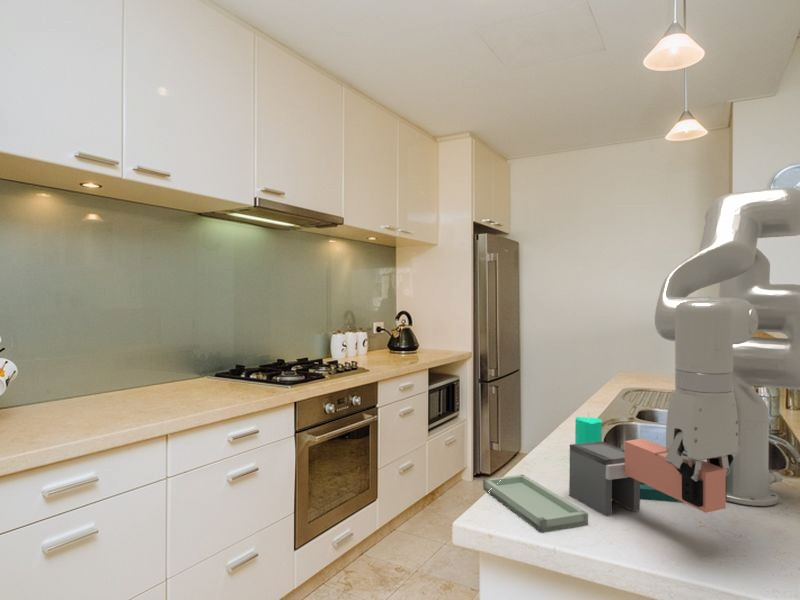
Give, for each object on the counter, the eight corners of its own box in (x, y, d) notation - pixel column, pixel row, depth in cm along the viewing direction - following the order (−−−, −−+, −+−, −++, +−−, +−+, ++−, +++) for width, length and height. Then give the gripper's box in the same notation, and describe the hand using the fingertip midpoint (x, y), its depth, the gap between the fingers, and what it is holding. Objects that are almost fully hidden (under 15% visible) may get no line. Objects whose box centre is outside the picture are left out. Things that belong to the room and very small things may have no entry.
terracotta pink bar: (642, 471, 90) (642, 438, 90) (725, 508, 75) (725, 468, 75) (624, 474, 89) (624, 440, 89) (705, 512, 74) (705, 472, 74)
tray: (523, 484, 105) (523, 474, 105) (588, 524, 86) (588, 513, 86) (483, 489, 102) (483, 479, 102) (541, 532, 83) (541, 520, 83)
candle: (571, 464, 118) (572, 413, 118) (578, 457, 123) (579, 409, 123) (598, 469, 114) (598, 417, 114) (604, 462, 119) (604, 412, 119)
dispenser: (643, 512, 91) (643, 457, 91) (608, 517, 89) (609, 461, 89) (601, 490, 101) (601, 441, 101) (569, 495, 99) (569, 444, 99)
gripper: (721, 373, 82) (721, 483, 83) (640, 382, 77) (641, 499, 77) (767, 381, 75) (767, 501, 76) (682, 392, 70) (683, 521, 70)
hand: (703, 499), depth 76 cm, fingers closed on terracotta pink bar, 4 cm apart
